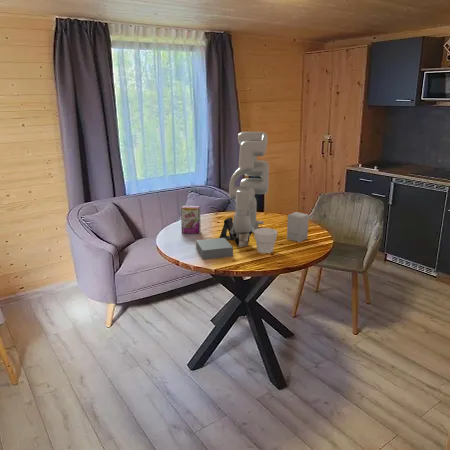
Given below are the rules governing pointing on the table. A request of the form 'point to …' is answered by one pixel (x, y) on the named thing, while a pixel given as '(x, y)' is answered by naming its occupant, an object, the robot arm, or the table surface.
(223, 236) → the phone stand
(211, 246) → the slate block
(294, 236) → the supplement box
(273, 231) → the cup
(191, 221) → the candy bar box
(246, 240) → the cream block
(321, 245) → the table surface
